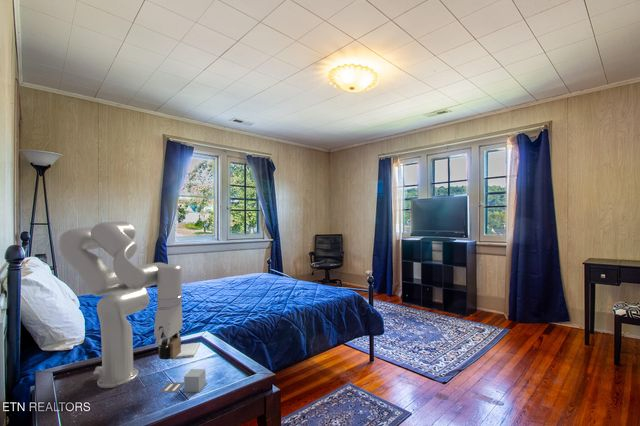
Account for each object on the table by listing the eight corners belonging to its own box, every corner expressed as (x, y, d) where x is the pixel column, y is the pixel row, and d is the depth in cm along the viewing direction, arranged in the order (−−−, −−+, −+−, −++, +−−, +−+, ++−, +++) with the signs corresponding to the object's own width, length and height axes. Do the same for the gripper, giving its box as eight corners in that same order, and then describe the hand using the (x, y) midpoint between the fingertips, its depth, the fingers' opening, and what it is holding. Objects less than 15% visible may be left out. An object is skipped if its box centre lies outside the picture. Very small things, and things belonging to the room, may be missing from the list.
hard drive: (180, 344, 142) (173, 356, 130) (199, 342, 143) (194, 354, 131) (181, 348, 142) (173, 360, 130) (200, 346, 143) (194, 358, 131)
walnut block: (158, 358, 105) (158, 343, 105) (167, 351, 110) (167, 337, 110) (173, 359, 104) (173, 344, 104) (180, 352, 109) (180, 338, 109)
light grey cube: (184, 391, 104) (184, 376, 104) (191, 383, 109) (191, 369, 109) (199, 391, 103) (198, 376, 103) (205, 383, 108) (205, 369, 108)
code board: (152, 397, 102) (152, 395, 102) (169, 381, 112) (169, 379, 112) (200, 398, 101) (200, 396, 101) (213, 381, 111) (213, 379, 111)
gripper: (172, 294, 116) (172, 343, 116) (143, 309, 99) (143, 366, 99) (192, 295, 115) (192, 344, 115) (166, 309, 98) (166, 367, 98)
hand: (169, 354), depth 107 cm, fingers closed on walnut block, 5 cm apart
